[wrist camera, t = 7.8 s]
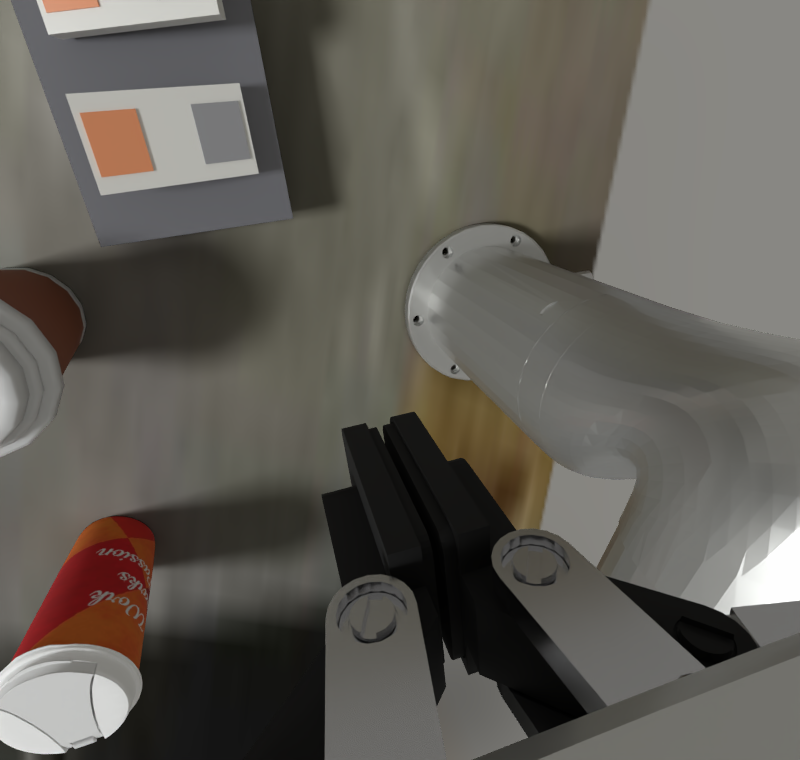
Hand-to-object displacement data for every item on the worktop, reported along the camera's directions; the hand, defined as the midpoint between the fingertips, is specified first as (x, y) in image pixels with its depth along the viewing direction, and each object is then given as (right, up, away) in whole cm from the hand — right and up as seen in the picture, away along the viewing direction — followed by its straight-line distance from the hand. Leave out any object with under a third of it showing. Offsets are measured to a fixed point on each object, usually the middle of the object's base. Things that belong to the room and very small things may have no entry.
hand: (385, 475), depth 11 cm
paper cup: (-23, -11, +29) cm, 38 cm away
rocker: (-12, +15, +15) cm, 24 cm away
